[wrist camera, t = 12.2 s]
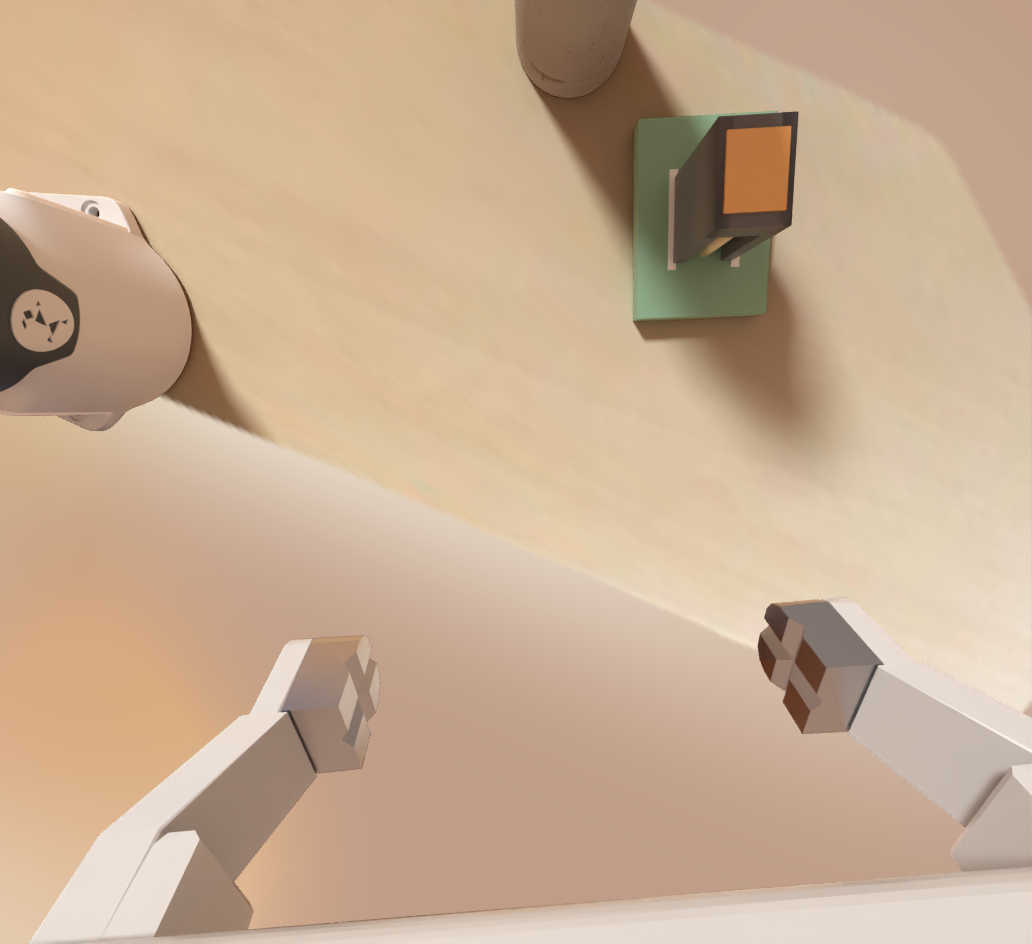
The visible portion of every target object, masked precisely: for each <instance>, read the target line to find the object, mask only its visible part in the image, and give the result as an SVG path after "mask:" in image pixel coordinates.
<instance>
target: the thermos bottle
mask: <svg viewBox="0 0 1032 944" xmlns="http://www.w3.org/2000/svg"><path fill="white" fill-rule="evenodd" d="M636 2H637V0H515V19H516V44H517V50H518V55H519V58H520V61H521V64H522V66H523V68H524V70H525V72H526V74H527V75H528V77H529V78H530V79H531V80H532V81H533V83H534V84H535V85H537V86H538V87H539V88H540V89H542V90H543V91H545V92H547V93H549V94H551V95H553V96H557V97H561V98H575V97H580V96H584V95H586V94H588V93H590V92H593V91H594V90H595V89H597V88H598V87H600V86H601V85H602V84H603V83H604V82H605V81H606V80H607V79H608V78H609V77H610V75H611V74H612V72H613V71H614V69H615V68H616V66H617V64H618V61H619V59H620V57H621V54H622V50H623V47H624V43H625V40H626V37H627V33H628V30H629V26H630V23H631V19H632V16H633V12H634V9H635V5H636Z"/></svg>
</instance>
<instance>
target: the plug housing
mask: <svg viewBox="0 0 1032 944" xmlns="http://www.w3.org/2000/svg"><path fill="white" fill-rule="evenodd" d="M797 127H798V112H783V113H766V114H750V115H733V116H719V117H718V118H717V119H716V121H715V122H714V124H713V125H712V126H711V128H710V129H709V131H708V132H707V133H706V135H705V136H704V137H703V139H702V140H701V142H700V143H699V144H698V146H697V147H696V149H695V150H694V151H693V153H692V154H691V155H690V157H689V158H688V160H687V161H686V162H685V164H684V165H683V167H682V168H681V169H680V171H679V172H678V174H677V175H676V176H675V196H674V248H673V263H685V262H687V261H688V260H689V259H691V258H692V257H693V256H694V255H696V254H697V253H698V252H700V251H701V250H702V249H704V248H705V247H706V246H708V245H709V244H710V243H712V242H713V241H714V240H716V239H717V238H722V237H733V238H732V239H731V240H729V241H728V242H726V243H725V244H723V245H722V246H721V261H728V260H734V259H736V258H737V257H739V256H741V255H742V254H744V253H746V252H747V251H749V250H751V249H752V248H754V247H756V246H757V245H759V244H761V243H762V242H764V241H766V240H767V239H769V238H771V237H772V236H774V235H776V234H777V233H779V232H781V231H783V230H784V229H786V228H788V227H789V226H791V223H792V207H793V191H794V175H795V159H796V143H797Z"/></svg>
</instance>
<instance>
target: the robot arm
mask: <svg viewBox="0 0 1032 944" xmlns="http://www.w3.org/2000/svg"><path fill="white" fill-rule="evenodd" d="M98 211H99V217H97V212H98ZM191 336H192V328H191V317H190V312H189V307H188V304H187V301H186V298H185V295H184V292H183V290H182V288H181V286H180V284H179V282H178V280H177V278H176V277H175V275H174V274H173V272H172V271H171V269H170V268H169V267H168V265H167V264H166V263H165V262H164V261H163V259H162V258H161V257H160V256H159V255H158V254H157V253H156V252H155V251H154V250H153V249H152V248H151V247H150V246H149V245H148V243H147V242H146V241H145V239H144V238H143V236H142V233H141V231H140V229H139V227H138V224H137V222H136V220H135V218H134V216H133V214H132V213H131V211H130V209H129V208H128V207H127V206H126V205H125V204H124V203H123V202H121V201H118V200H115V199H112V198H109V197H101V196H83V195H66V194H48V193H31V192H24V191H20V190H17V189H12V188H9V189H7V191H0V414H3V415H10V416H45V415H46V416H50V415H56V416H58V417H61V418H63V419H65V420H67V421H69V422H71V423H74V424H76V425H78V426H80V427H82V428H85V429H87V430H91V431H104V430H107V429H109V428H111V427H112V426H113V425H114V424H115V423H116V422H117V421H118V420H119V419H120V418H121V417H122V416H123V415H124V414H125V412H126V411H128V410H130V409H132V408H134V407H137V406H139V405H142V404H145V403H147V402H150V401H152V400H154V399H156V398H157V397H159V396H160V395H162V394H163V393H164V392H166V391H167V390H168V389H169V388H170V387H171V386H172V385H173V384H174V382H175V381H176V380H177V378H178V377H179V376H180V374H181V372H182V370H183V368H184V366H185V364H186V361H187V358H188V355H189V351H190V346H191ZM764 618H765V620H766V621H767V623H768V624H769V626H768V627H767V628H766V629H765V630H764V631H762V632H761V633H760V636H759V642H758V652H759V659H760V662H761V664H762V667H763V670H764V672H765V673H766V675H767V677H768V678H769V680H770V682H772V683H773V684H775V685H776V686H778V687H779V688H781V689H782V690H784V696H783V703H784V705H785V706H786V708H787V710H788V711H789V713H790V715H791V716H792V718H793V719H794V721H795V723H796V724H797V726H798V727H799V729H800V731H801V733H802V734H813V733H833V732H849V733H848V735H850V736H851V737H852V738H853V739H854V740H856V741H857V742H858V743H860V744H861V745H862V746H863V747H865V748H866V749H867V750H868V751H870V752H871V753H872V754H873V755H875V756H876V757H877V758H878V759H880V760H881V761H882V762H883V763H885V764H886V765H887V766H888V767H890V768H891V769H892V770H894V771H895V772H896V773H897V774H899V775H900V776H901V777H902V778H904V779H905V780H906V781H907V782H909V783H910V784H911V785H913V786H914V787H915V788H916V789H917V790H919V791H920V792H921V793H923V794H924V795H925V796H926V797H928V798H929V799H930V800H931V801H933V802H934V803H935V804H936V805H938V806H939V807H940V808H941V809H943V810H944V811H945V812H946V813H948V814H949V815H950V816H951V817H953V818H954V819H955V820H956V821H958V822H959V823H960V824H962V825H963V826H964V827H965V829H964V831H963V832H962V833H961V835H960V836H959V837H958V839H957V840H956V841H955V843H954V844H953V845H952V849H951V857H952V858H953V860H954V861H955V862H956V863H957V865H958V867H959V868H960V869H961V871H962V872H955V873H942V874H930V875H917V876H905V877H893V878H881V879H868V880H856V881H843V882H830V883H818V884H805V885H794V886H781V887H768V888H756V889H743V890H731V891H718V892H706V893H695V894H694V893H693V894H681V895H669V896H656V897H644V898H632V899H619V900H607V901H594V902H581V903H570V904H557V905H544V906H531V907H519V908H508V909H495V910H482V911H470V912H457V913H445V914H433V915H421V916H408V917H395V918H385V919H371V920H359V921H346V922H335V923H322V924H310V925H297V926H284V927H272V928H260V929H248V927H249V923H250V921H251V918H252V915H253V909H252V907H251V904H250V902H249V901H248V900H247V898H246V897H245V895H244V894H243V893H242V892H241V890H240V889H239V888H238V886H237V885H236V884H235V882H234V881H235V880H236V879H237V877H238V876H239V875H240V874H241V872H242V871H243V870H244V869H245V867H246V866H247V865H248V863H249V862H250V861H251V860H252V858H253V857H254V856H255V854H256V853H257V852H258V851H259V849H260V848H261V847H262V846H263V844H264V843H265V842H266V841H267V839H268V838H269V837H270V835H271V834H272V833H273V832H274V830H275V829H276V828H277V826H278V825H279V824H280V823H281V821H282V820H283V819H284V818H285V816H286V815H287V814H288V813H289V811H290V810H291V809H292V807H293V806H294V805H295V804H296V802H297V801H298V800H299V799H300V797H301V796H302V795H303V793H304V792H305V791H306V790H307V788H308V787H309V786H310V785H311V783H312V782H313V781H314V779H315V778H316V777H317V775H316V774H317V773H327V772H336V771H345V770H355V769H362V766H363V763H364V759H365V755H366V750H367V747H368V743H369V739H370V735H371V734H370V731H369V728H368V725H367V721H368V720H369V719H370V718H371V717H372V716H373V715H374V714H375V713H376V710H377V705H378V701H379V693H380V677H379V671H378V667H377V664H376V663H375V662H374V661H373V660H371V659H370V658H369V657H370V653H371V650H372V646H371V644H370V641H369V638H368V636H364V635H363V636H345V637H344V636H343V637H324V638H314V639H294V640H290V641H289V642H288V643H287V644H286V645H285V646H284V647H283V649H282V651H281V653H280V655H279V657H278V659H277V661H276V663H275V665H274V667H273V669H272V671H271V673H270V675H269V677H268V678H267V681H266V682H265V684H264V686H263V688H262V690H261V693H260V694H259V696H258V698H257V700H256V702H255V704H254V706H253V708H252V710H251V712H250V714H249V715H241V716H240V717H239V718H238V719H236V720H235V721H234V722H233V723H232V724H230V725H229V726H228V727H227V728H226V729H225V730H223V731H222V732H221V733H220V734H219V735H217V736H216V737H215V738H214V739H213V740H211V741H210V742H209V743H208V744H207V745H206V746H204V747H203V748H202V749H201V750H200V751H198V752H197V753H196V754H195V755H194V756H192V757H191V758H190V759H189V760H188V761H187V762H185V763H184V764H183V765H182V766H181V767H179V768H178V769H177V770H176V771H175V772H174V773H172V774H171V775H170V776H169V777H168V778H166V779H165V780H164V781H163V782H162V783H161V784H159V785H158V786H157V787H156V788H155V789H153V790H152V791H151V792H150V793H149V794H147V795H146V796H145V797H144V798H143V799H141V800H140V801H139V802H138V803H137V804H135V805H134V806H133V807H132V808H131V809H130V810H128V811H127V812H126V813H125V814H124V815H122V816H121V817H120V818H119V819H118V820H116V821H115V822H114V823H113V824H112V825H111V826H109V827H108V828H107V829H106V830H105V831H104V832H102V833H101V834H100V835H99V836H98V838H97V839H96V841H95V842H94V844H93V845H92V847H91V849H90V850H89V852H88V853H87V855H86V856H85V858H84V859H83V861H82V862H81V864H80V865H79V867H78V869H77V870H76V872H75V873H74V875H73V876H72V878H71V879H70V881H69V882H68V884H67V885H66V887H65V889H64V890H63V892H62V893H61V894H60V896H59V898H58V899H57V901H56V902H55V904H54V905H53V907H52V908H51V910H50V911H49V913H48V914H47V916H46V917H45V919H44V921H43V922H42V924H41V925H40V927H39V928H38V930H37V931H36V933H35V934H34V936H33V937H32V939H31V940H30V942H29V944H1032V718H1031V717H1029V716H1027V715H1025V714H1023V713H1021V712H1019V711H1017V710H1015V709H1014V708H1012V707H1010V706H1008V705H1006V704H1004V703H1002V702H1000V701H998V700H996V699H994V698H992V697H990V696H988V695H986V694H984V693H982V692H980V691H978V690H976V689H974V688H972V687H971V686H969V685H967V684H965V683H963V682H961V681H959V680H957V679H955V678H953V677H951V676H949V675H947V674H945V673H943V672H941V671H939V670H937V669H935V668H933V667H931V666H929V665H928V664H926V663H924V662H921V663H915V662H914V661H913V660H912V659H911V658H910V657H909V656H908V655H907V654H906V653H905V652H904V651H903V650H902V649H901V648H900V647H899V646H898V645H897V644H896V643H895V642H894V641H893V640H892V639H891V638H890V637H889V635H888V634H887V633H886V632H885V631H884V630H883V629H882V628H881V627H880V626H879V625H878V624H877V623H876V622H875V621H874V620H873V619H872V618H871V617H870V616H869V615H868V614H867V613H866V612H865V611H864V610H863V609H862V608H861V607H860V606H859V605H858V604H857V602H855V601H854V600H852V599H850V598H848V597H842V598H830V599H821V600H806V601H795V602H783V603H772V604H770V606H769V607H768V608H767V609H766V613H765V616H764Z"/></svg>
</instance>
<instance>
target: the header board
mask: <svg viewBox="0 0 1032 944" xmlns="http://www.w3.org/2000/svg"><path fill="white" fill-rule="evenodd" d="M766 113H778V111H766V112H749V113H732V114H715V115H698V116H681V117H664V118H647V119H638V122H637V124H636V126H635V129H634V223H633V321H654V320H676V319H698V318H719V317H741V316H758V315H761V314H765V313H766V310H767V292H768V274H769V256H770V239H771V238H769V239H767V240H766V241H764V242H762V243H761V244H759V245H757V246H756V247H754V248H752V249H751V250H749V251H747V252H746V253H744V254H742V255H741V256H739V257H737V258H736V259H734V260H728V261H721V246H722V245H723V244H725V243H726V242H728V241H729V240H731V239H732V238H733V237H722V238H717V239H716V240H714V241H713V242H712V243H710V244H709V245H708V246H706V247H705V248H704V249H702V250H701V251H700V252H698V253H697V254H696V255H694V256H693V257H692V258H691V259H689V260H688V261H687V262H685V263H673V248H674V196H675V176H676V175H677V174H678V172H679V171H680V169H681V168H682V167H683V165H684V164H685V162H686V161H687V160H688V158H689V157H690V155H691V154H692V153H693V151H694V150H695V149H696V147H697V146H698V144H699V143H700V142H701V140H702V139H703V137H704V136H705V135H706V133H707V132H708V131H709V129H710V128H711V126H712V125H713V124H714V122H715V121H716V119H717V118H718V117H719V116H733V115H750V114H766Z"/></svg>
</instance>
